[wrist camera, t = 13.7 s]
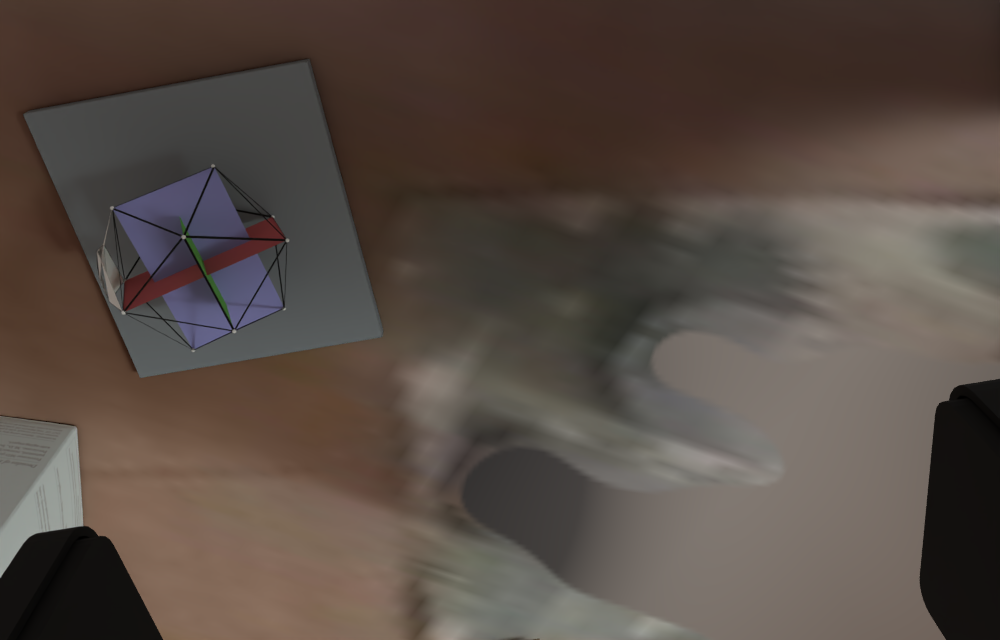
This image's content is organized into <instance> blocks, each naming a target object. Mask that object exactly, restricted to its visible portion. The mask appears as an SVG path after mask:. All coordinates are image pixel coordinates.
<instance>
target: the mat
mask: <svg viewBox="0 0 1000 640" xmlns="http://www.w3.org/2000/svg"><path fill="white" fill-rule="evenodd" d="M23 116H24V118H25V120H26V122H27V125H28V127H29V129H30V131H31V134H32V136H33V138H34V140H35V143H36V145H37V147H38V149H39V152H40V154H41V156H42V158H43V160H44V163H45V165H46V167H47V169H48V172H49V174H50V176H51V178H52V181H53V183H54V185H55V187H56V190H57V192H58V194H59V196H60V199H61V201H62V203H63V205H64V208H65V210H66V212H67V214H68V217H69V219H70V221H71V223H72V226H73V228H74V230H75V232H76V235H77V237H78V239H79V241H80V244H81V246H82V248H83V250H84V253H85V255H86V257H87V259H88V262H89V264H90V266H91V268H92V271H93V273H94V275H95V277H96V280H97V282H98V284H99V286H100V289H101V291H102V293H103V295H104V298H105V300H106V302H107V304H108V306H109V309H110V311H111V313H112V315H113V318H114V320H115V322H116V324H117V327H118V329H119V331H120V333H121V336H122V338H123V340H124V342H125V345H126V347H127V349H128V351H129V354H130V356H131V358H132V360H133V363H134V365H135V367H136V369H137V372H138V374H139V376H140V378H142V377H148V376H154V375H160V374H166V373H172V372H178V371H184V370H190V369H196V368H202V367H208V366H214V365H219V364H225V363H231V362H237V361H243V360H249V359H255V358H261V357H267V356H273V355H279V354H285V353H291V352H297V351H303V350H309V349H314V348H320V347H326V346H332V345H338V344H344V343H350V342H356V341H362V340H368V339H374V338H380V337H382V336H383V327H382V324H381V320H380V316H379V313H378V309H377V305H376V302H375V298H374V294H373V291H372V287H371V283H370V280H369V276H368V272H367V269H366V265H365V261H364V258H363V254H362V250H361V247H360V243H359V239H358V236H357V232H356V228H355V225H354V221H353V217H352V214H351V210H350V206H349V202H348V199H347V195H346V191H345V188H344V184H343V180H342V177H341V173H340V169H339V166H338V162H337V158H336V155H335V151H334V147H333V144H332V140H331V136H330V133H329V129H328V125H327V122H326V118H325V114H324V111H323V107H322V103H321V100H320V96H319V92H318V89H317V85H316V81H315V78H314V74H313V70H312V66H311V63H310V59H305V60H300V61H294V62H289V63H283V64H278V65H273V66H267V67H262V68H257V69H251V70H246V71H240V72H235V73H230V74H224V75H219V76H213V77H208V78H203V79H197V80H192V81H186V82H181V83H176V84H170V85H165V86H159V87H154V88H149V89H143V90H138V91H133V92H127V93H122V94H116V95H111V96H106V97H100V98H95V99H89V100H84V101H79V102H73V103H68V104H62V105H57V106H52V107H46V108H41V109H35V110H30V111H28V112H26V113H24V114H23ZM212 164H214V165H215V167H216V168H217V169H218V170H219V171H220V172H222V173H223V174H224V175H225V176H226V177H227V178H228V179H230V180H231V181H232V182H233V183H234V184H235V185H237V186H238V187H239V188H240V189H241V190H242V191H244V192H245V193H246V194H247V195H248V196H249V197H250V198H252V199H253V200H254V201H255V202H256V203H257V204H259V205H260V206H261V207H262V208H263V209H264V210H266V211H267V212H268V213H269V214H270V215H271V216H272V215H273V216H274V217H275V218H274V220H275V221H276V223H277V224H278V226H279V228H280V229H281V231H282V232H283V234H284V235H285V237H286V239H287V238H288V239H289V242H287V264H286V245H285V246H284V248H283V250H282V251H281V253H280V255H279V257H278V260H279V267H280V275H281V283H282V290H283V298H284V295H285V308H286V310H281V311H278V312H276V313H274V314H272V315H270V316H268V317H265V318H263V319H261V320H259V321H257V322H254V323H252V324H250V325H248V326H246V327H244V328H241V329H239V330H237V331H236V333H231V334H228V335H226V336H224V337H222V338H220V339H218V340H215V341H213V342H211V343H209V344H207V345H205V346H202V347H200V348H198V349H196V350H195V352H192V351H191V349H190V347H189V346H188V345H187V344H186V343H185V342H184V341H183V340H182V339H181V338H180V337H179V336H178V335H177V334H176V333H175V332H174V331H173V330H172V329H171V328H170V327H169V326H168V325H167V324H166V323H165V322H164V321H163V320H161V319H155V318H149V317H143V316H137V315H131V314H127V315H126V314H125V315H123V314H122V313H121V311H120V310H119V309H118V308H116V307H115V306H114V305H112V304H111V303H110V302H109V300H108V299H109V297H108V298H107V296H106V294H105V292H104V290H103V288H102V286H101V284H100V280H99V279H100V278H99V275H98V269H97V260H98V257H97V250H98V249H99V248H100V247H101V246H102V244H103V243H104V239H105V235H106V239H105V244H104V245H105V247H106V249H107V251H108V252H109V254H110V256H111V258H112V260H113V261H114V263H115V265H116V267H117V268H118V262H119V269H118V270H119V272H120V274H121V276H122V277H123V279H124V276H125V278H126V277H127V275H128V273H129V272H130V270H131V269H132V267H133V265H134V264H135V262H136V261H137V259H138V257H139V254H138V253H137V251H136V249H135V247H134V246H133V244H132V242H131V240H130V239H129V237H128V235H127V233H126V232H125V230H124V228H123V226H122V225H121V223H120V221H119V219H118V218H117V216H116V214H115V212H114V217H115V223H116V229H117V234H118V240H119V246H120V252H121V258H122V264H123V270H124V276H123V270H122V264H121V258H120V252H119V246H118V241H117V235H116V241H115V234H116V229H115V231H114V224H115V223H114V222H113V212H112V211H111V209H110V207H111V206H113V207H116V206H118V205H120V204H123V203H125V202H128V201H130V200H133V199H135V198H137V197H140V196H142V195H145V194H147V193H150V192H152V191H154V190H157V189H159V188H162V187H164V186H167V185H169V184H171V183H174V182H176V181H179V180H181V179H183V178H186V177H188V176H191V175H193V174H196V173H198V172H200V171H203V170H205V169H208V168H210V167H211V165H212ZM216 171H217V170H216ZM217 173H218V175H219V177H220V179H221V181H222V183H223V185H224V187H225V189H226V191H227V193H228V195H229V197H230V199H231V201H232V203H233V205H234V207H235V209H237V210H243V211H248V212H253V213H259V212H260V213H261V214H264V215H269V214H268V213H267V212H265V211H264V210H263V209H262V208H261V207H260V206H258V205H257V204H256V203H255V202H254V201H253V200H252V199H250V198H249V197H248V196H247V195H246V194H245V193H243V192H242V191H241V190H240V189H239V188H238V187H236V186H235V185H234V184H233V183H232V182H231V181H230V182H231V183H232V184H233V186H234V187H235V188H236V189H237V190H238V191H239V192H240V193H241V194H242V195H243V196H244V197H245V198H246V199H247V200H248V201H249V202H250V203H251V204H252V205H253V206H254V207H255V208H256V209H257V210H258V211H259V212H258V211H257V210H256V209H255V208H254V207H253V206H252V205H251V204H250V203H249V202H248V201H247V200H246V199H245V198H244V197H243V196H242V195H241V194H240V193H239V192H238V191H237V190H236V189H235V188H234V187H233V186H232V185H231V184H230V183H229V182H228V181H227V180H226V179H225V178H224V177H223V176H222V175H221V174H220V173H219V172H218V171H217ZM237 213H238V215H239V217H240V219H241V221H242V223H243V225H244V227H245V229H246V228H248V227H250V226H252V225H255V224H257V223H259V222H262V221H264V220H266V219H269V218H270V217H265V218H266V219H265V218H264V217H263V216H259V215H254V214H248V213H243V212H238V211H237ZM260 213H259V214H260ZM110 214H111V215H110ZM270 215H269V216H270ZM109 218H110V220H109ZM108 223H109V225H108ZM107 227H108V230H107ZM106 231H107V234H106ZM116 243H117V250H116ZM284 243H285V241H284V242H282V243H280V244H277V252H278V253H279V251H280V250H281V248H282V246H283V245H284ZM117 253H118V260H117ZM257 254H258V256H259V258H260V260H261V262H262V264H263V266H264V268H265V270H266V272H268V270H269V269H270V267H271V265H272V263H273V262H274V260H275V258H276V257H277V255H276V248H275V246H273V247H271V248H268V249H266V250H264V251H262V252H259V253H257ZM285 268H286V290H285ZM146 271H148V270H147V268H146V267H145V265H144V263H143V261H142V260H141V258H140V259H139V261H138V262H137V264H136V266H135V267H134V269H133V270H132V272H131V274H130V275H129V277H128V278H127V280H128V279H130V278H133V277H135V276H137V275H139V274H142V273H144V272H146ZM101 274H102V277H103V281H104V285H105V288H106V292H107V287H106V282H105V277H104V272H103V267H102V271H101ZM268 276H269V278H270V280H271V282H272V284H273V286H274V288H275V290H276V292H277V294H278V296H279V298H280V300H281V302H282V304H283V301H282V293H281V286H280V278H279V270H278V263H277V260H276V262H275V263H274V265H273V267H272V269H271V270H270V272H269V274H268ZM121 291H122V298H121ZM107 295H108V292H107ZM116 297H117V299H118V302H119V304H120V307H121V309H122V311H123V308H122V300H123V297H124V283H123V284H122V285H121V289H120V288H119V289H118V291H117V292H116ZM147 303H148V304H149V305H150V306H151V307H152V308H153V309H154V310H155V311H156V312H157V313H158V314H159V315H160V316H161V317H162V318H163V319H169V320H175V321H176V319H175V317H174V316H173V314H172V312H171V310H170V309H169V307H168V305H167V303H166V302H165V300H164V298H163V296H160V297H158V298H155V299H153V300H151V301H148V302H147ZM147 303H144V304H142V305H139V306H137V307H135V308H133V309H130V310H128V311H126V312H127V313H133V314H139V315H145V316H151V317H157V318H160V317H159V316H158V315H157V314H156V312H155V311H154V310H153V309H152V308H151V307H150V306H149V305H148V304H147ZM128 315H129V316H128ZM130 316H131V317H130ZM132 317H133V318H132ZM134 318H135V319H134ZM136 319H137V320H139V321H140V322H139V321H137V320H136ZM165 321H166V322H167V323H168V324H169V325H170V326H171V327H172V328H173V329H174V330H175V331H176V332H177V333H178V334H179V335H180V336H181V337H182V338H183V339H184V340H185V341H186V342H187V343H188V344H189V342H188V340H187V338H186V337H185V335H184V333H183V331H182V330H181V328H180V326H179V324H178V323H177V322H173V321H167V320H165ZM141 322H142V323H141ZM143 323H144V324H143ZM145 324H146V325H145ZM147 325H148V326H147ZM149 326H150V327H149ZM151 327H152V328H154V329H155V330H154V329H152V328H151ZM156 330H157V331H156ZM158 331H159V332H158ZM160 332H161V333H160ZM162 333H163V334H162ZM164 334H165V335H167V336H168V337H167V336H165V335H164ZM169 337H170V338H169ZM171 338H172V339H171ZM173 339H174V340H173ZM175 340H176V341H175ZM177 341H178V342H180V343H181V344H180V343H178V342H177ZM182 344H183V345H182ZM184 345H185V346H184ZM189 345H190V344H189ZM186 346H187V347H186ZM190 346H191V345H190ZM188 347H189V348H188Z"/></svg>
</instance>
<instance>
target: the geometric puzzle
mask: <svg viewBox="0 0 1000 640" xmlns="http://www.w3.org/2000/svg"><path fill="white" fill-rule="evenodd" d="M216 170H217V171H218V172H219V173H220V174H221V175H222V176H223V177H224V178H225V179H226V180H227V181H228V182H229V183H230V184H231V185H232V186H233V184H234V183H233V182H232V181H231V180H230V179H228V178H227V177H226V176H225V175H224V174H223V173H222V172H220V171H219V170H218V169H217V168H216V167H215V165H214V164H212V165H211V167H210V168H208V169H205V170H203V171H200V172H198V173H196V174H193V175H191V176H188V177H186V178H183V179H181V180H179V181H176V182H174V183H171V184H169V185H167V186H164V187H162V188H159V189H157V190H154V191H152V192H150V193H147V194H145V195H142V196H140V197H137V198H135V199H133V200H130V201H128V202H125V203H123V204H120V205H118V206H116V207H113V206H111V207H110V209H111V211H112V212H113V222H114V223H115V217H114V212H115V214H116V216H117V218H118V219H119V221H120V223H121V225H122V226H123V228H124V230H125V232H126V233H127V235H128V237H129V239H130V240H131V242H132V244H133V246H134V247H135V249H136V251H137V253H138V254H139V257H138V259H137V261H136V262H135V264H134V265H133V267H132V269H131V270H130V272H129V273H128V275H127V277H126V278H125V276H124V270H123V264H122V258H121V252H120V246H119V240H118V234H117V229H116V223H115V224H114V231H115V229H116V234H115V241H116V235H117V241H118V246H119V252H120V258H121V264H122V270H123V276H124V279H123V277H122V276H121V274H120V272H119V270H118V269H119V262H118V268H117V267H116V265H115V263H114V261H113V260H112V258H111V256H110V254H109V252H108V251H107V249H106V247H105V245H104V244H105V239H106V235H105V239H104V243H103V244H102V246H101V247H100V248H99V249H98V250H97V257H98V260H97V269H98V275H99V278H100V279H99V280H100V284H101V286H102V288H103V290H104V292H105V294H106V296H107V298H108V297H109V299H108V300H109V302H110V303H111V304H112V305H114V306H115V307H116V308H118V309H119V310H120V311H121V313H122V314H123V315H125V314H126V315H127V314H131V315H137V316H143V317H149V318H155V319H161V320H163V321H164V322H165V323H166V324H167V325H168V326H169V327H170V328H171V329H172V330H173V331H174V332H175V333H176V334H177V335H178V336H179V337H180V338H181V339H182V340H183V341H184V342H185V343H186V344H187V345H188V346H189V347H190V349H191V351H192V352H195V350H196V349H198V348H200V347H202V346H205V345H207V344H209V343H211V342H213V341H215V340H218V339H220V338H222V337H224V336H226V335H228V334H231V333H236V331H237V330H239V329H241V328H244V327H246V326H248V325H250V324H252V323H254V322H257V321H259V320H261V319H263V318H265V317H268V316H270V315H272V314H274V313H276V312H278V311H281V310H286V308H285V295H284V298H283V290H282V283H281V275H280V267H279V260H278V257H279V255H280V253H281V251H282V250H283V248H284V246H285V245H286V264H287V242H289V239H288V238H287V239H286V237H285V235H284V234H283V232H282V231H281V229H280V228H279V226H278V224H277V223H276V221H275V220H274V218H275V217H274V216H273V215H272V216H271V215H270V214H269V213H268V212H267V211H266V210H264V209H263V208H262V207H261V206H260V205H259V204H257V203H256V202H255V201H254V200H253V199H252V198H250V197H249V196H248V195H247V194H246V193H245V192H244V191H242V190H241V189H240V188H239V187H238V186H237V185H235V184H234V185H235V186H236V187H238V188H239V189H240V190H241V191H242V192H243V193H245V194H246V195H247V196H248V197H249V198H250V199H252V200H253V201H254V202H255V203H256V204H257V205H258V206H260V207H261V208H262V209H263V210H264V211H265V212H267V213H268V214H269V215H270V216H269V215H264V214H261V213H260V212H259V211H258V210H257V209H256V208H255V207H254V206H253V205H252V204H251V203H250V202H249V201H248V200H247V199H246V198H245V197H244V196H243V195H242V194H241V193H240V192H239V191H238V190H237V189H236V188H235V187H234V186H233V187H234V188H235V189H236V190H237V191H238V192H239V193H240V194H241V195H242V196H243V197H244V198H245V199H246V200H247V201H248V202H249V203H250V204H251V205H252V206H253V207H254V208H255V209H256V210H257V211H258V212H259V213H260V214H259V213H253V212H248V211H243V210H237V209H235V207H234V205H233V203H232V201H231V199H230V197H229V195H228V193H227V191H226V189H225V187H224V185H223V183H222V181H221V179H220V177H219V175H218V173H217V171H216ZM230 181H231V182H232V183H233V184H232V183H231V182H230ZM237 211H238V212H243V213H248V214H254V215H259V216H263V217H264V218H265V217H270V218H269V219H266V218H265V219H266V220H264V221H262V222H259V223H257V224H255V225H252V226H250V227H248V228H246V229H245V227H244V225H243V223H242V221H241V219H240V217H239V215H238V213H237ZM110 215H111V214H110ZM109 220H110V218H109ZM108 225H109V223H108ZM107 230H108V227H107ZM106 234H107V231H106ZM284 241H285V243H284V245H283V246H282V248H281V250H280V251H279V253H278V252H277V244H280V243H282V242H284ZM273 246H275V248H276V255H277V257H276V258H275V260H274V262H273V263H272V265H271V267H270V269H269V270H268V272H266V270H265V268H264V266H263V264H262V262H261V260H260V258H259V256H258V254H257V253H259V252H262V251H264V250H266V249H268V248H271V247H273ZM116 250H117V243H116ZM140 258H141V260H142V261H143V263H144V265H145V267H146V268H147V270H148V271H146V272H144V273H142V274H139V275H137V276H135V277H133V278H130V279H128V280H127V278H128V277H129V275H130V274H131V272H132V270H133V269H134V267H135V266H136V264H137V262H138V261H139V259H140ZM117 260H118V253H117ZM276 260H277V263H278V270H279V278H280V286H281V293H282V301H283V304H282V302H281V300H280V298H279V296H278V294H277V292H276V290H275V288H274V286H273V284H272V282H271V280H270V278H269V276H268V274H269V272H270V270H271V269H272V267H273V265H274V263H275V262H276ZM102 267H103V272H104V277H105V282H106V287H107V292H108V295H107V292H106V288H105V285H104V281H103V277H102V274H101V271H102ZM123 283H124V297H123V300H122V308H123V311H122V309H121V307H120V304H119V302H118V299H117V297H116V292H117V291H118V289H119V288H120V289H121V285H122V284H123ZM285 290H286V268H285ZM160 296H163V298H164V300H165V302H166V303H167V305H168V307H169V309H170V310H171V312H172V314H173V316H174V317H175V319H176V321H175V320H169V319H163V318H162V317H161V316H160V315H159V314H158V313H157V312H156V311H155V310H154V309H153V308H152V307H151V306H150V305H149V304H148V303H147V302H148V301H151V300H153V299H155V298H158V297H160ZM121 298H122V291H121ZM144 303H147V304H148V305H149V306H150V307H151V308H152V309H153V310H154V311H155V312H156V314H157V315H158V316H159V317H160V318H157V317H151V316H145V315H139V314H133V313H127V312H126V311H128V310H130V309H133V308H135V307H137V306H139V305H142V304H144ZM128 316H129V315H128ZM130 317H131V316H130ZM132 318H133V317H132ZM134 319H135V318H134ZM136 320H137V319H136ZM165 320H167V321H173V322H177V323H178V324H179V326H180V328H181V330H182V331H183V333H184V335H185V337H186V338H187V340H188V342H189V344H190V345H191V346H190V345H189V344H188V343H187V342H186V341H185V340H184V339H183V338H182V337H181V336H180V335H179V334H178V333H177V332H176V331H175V330H174V329H173V328H172V327H171V326H170V325H169V324H168V323H167V322H166V321H165ZM137 321H139V320H137ZM139 322H140V321H139ZM141 323H142V322H141ZM143 324H144V323H143ZM145 325H146V324H145ZM147 326H148V325H147ZM149 327H150V326H149ZM151 328H152V327H151ZM152 329H154V328H152ZM154 330H155V329H154ZM156 331H157V330H156ZM158 332H159V331H158ZM160 333H161V332H160ZM162 334H163V333H162ZM164 335H165V334H164ZM165 336H167V335H165ZM167 337H168V336H167ZM169 338H170V337H169ZM171 339H172V338H171ZM173 340H174V339H173ZM175 341H176V340H175ZM177 342H178V341H177ZM178 343H180V342H178ZM180 344H181V343H180ZM182 345H183V344H182ZM184 346H185V345H184ZM186 347H187V346H186ZM189 347H188V348H189Z"/></svg>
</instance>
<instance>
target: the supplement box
mask: <svg viewBox="0 0 1000 640" xmlns="http://www.w3.org/2000/svg"><path fill="white" fill-rule="evenodd" d="M79 526H83V509H82V495H81V480H80V465H79V451H78V436H77V428H76V427H75V426H70V425H64V424H57V423H50V422H42V421H34V420H27V419H19V418H11V417H4V416H0V578H1V576H2V575H3V573H4V572H5V570H6V569H7V567H8V566H9V564H10V563H11V561H12V560H13V558H14V557H15V555H16V554H17V552H18V551H19V549H20V548H21V546H22V545H23V543H24V542H25V541H26V540H27V539H28V538H29V537H30V536H32V535H34V534H36V533H41V532H48V531H54V530H60V529H66V528H73V527H79Z"/></svg>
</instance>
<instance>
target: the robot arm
mask: <svg viewBox="0 0 1000 640" xmlns="http://www.w3.org/2000/svg"><path fill="white" fill-rule="evenodd" d="M920 588H921V593H922V596H923V600H924V602H925V605H926V608H927V609H928V611H929V613H930V615H931V616H932V618H933V620H934V621H935V623H936V625H937V626H938V628H939V629H940V631H941V632H942V634H943V636H944V637H945V639H946V640H1000V379H996V380H990V381H984V382H978V383H971V384H965V385H959V386H957V387H956V388H954V389H953V391H952V392H951V394H950V399H949V401H945V402H941V403H939V405H938V406H937V408H936V413H935V422H934V433H933V444H932V453H931V464H930V475H929V485H928V495H927V506H926V516H925V527H924V538H923V548H922V559H921V569H920ZM0 640H163V639H162V637H161V635H160V633H159V631H158V629H157V627H156V625H155V623H154V621H153V619H152V618H151V616H150V614H149V612H148V610H147V608H146V606H145V604H144V602H143V600H142V598H141V596H140V595H139V593H138V591H137V589H136V587H135V585H134V583H133V581H132V579H131V577H130V575H129V573H128V572H127V570H126V568H125V566H124V564H123V562H122V560H121V558H120V556H119V554H118V552H117V551H116V549H115V547H114V545H113V543H112V542H111V541H110V539H108V538H107V537H105V536H98V535H97V534H96V532H95V531H94V530H93V529H91V528H89V527H87V526H79V527H73V528H66V529H60V530H54V531H48V532H41V533H36V534H34V535H32V536H30V537H29V538H28V539H27V540H26V541H25V542H24V543H23V545H22V546H21V548H20V549H19V551H18V552H17V554H16V555H15V557H14V558H13V560H12V561H11V563H10V564H9V566H8V567H7V569H6V570H5V572H4V573H3V575H2V576H1V578H0Z"/></svg>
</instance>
